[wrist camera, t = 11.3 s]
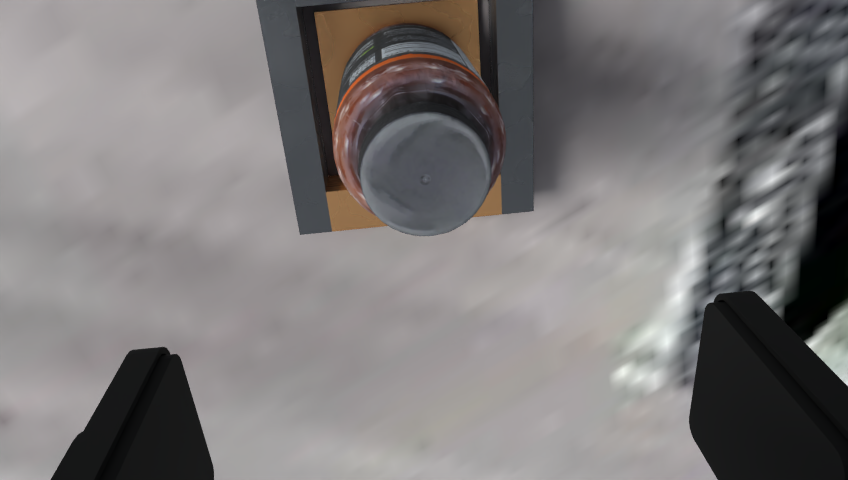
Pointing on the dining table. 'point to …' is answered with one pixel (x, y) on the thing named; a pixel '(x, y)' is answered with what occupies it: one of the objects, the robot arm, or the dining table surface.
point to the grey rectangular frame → (295, 93)
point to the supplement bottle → (416, 131)
